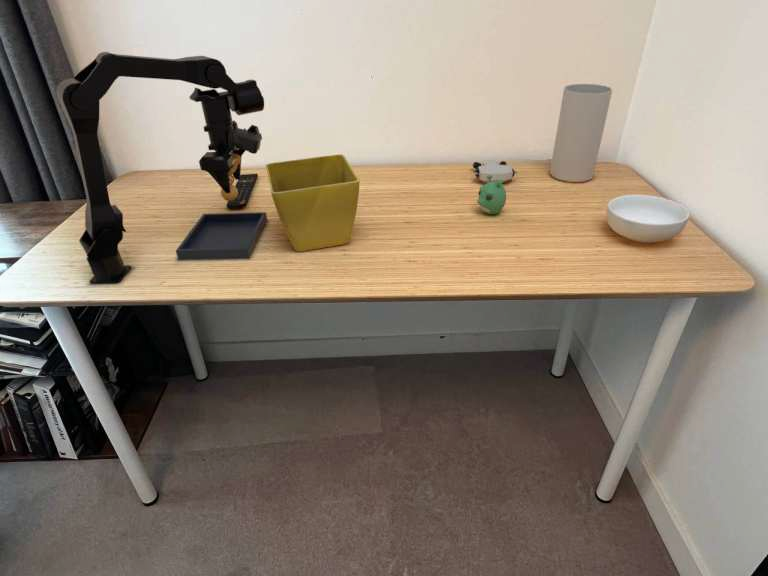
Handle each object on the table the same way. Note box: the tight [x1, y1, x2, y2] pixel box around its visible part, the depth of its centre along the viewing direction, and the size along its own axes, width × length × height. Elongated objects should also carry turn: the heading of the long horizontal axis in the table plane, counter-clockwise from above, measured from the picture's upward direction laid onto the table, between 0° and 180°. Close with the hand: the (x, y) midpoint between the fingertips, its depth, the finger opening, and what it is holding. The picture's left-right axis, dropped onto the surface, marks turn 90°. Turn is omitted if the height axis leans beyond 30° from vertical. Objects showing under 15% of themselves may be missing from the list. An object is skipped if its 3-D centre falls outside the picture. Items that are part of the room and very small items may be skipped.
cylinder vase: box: [549, 83, 613, 183], centre depth 139 cm, size 12×12×25 cm
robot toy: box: [470, 158, 519, 184], centre depth 145 cm, size 12×4×15 cm
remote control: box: [225, 173, 259, 211], centre depth 142 cm, size 5×24×1 cm, turn 4°
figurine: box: [220, 153, 242, 202], centre depth 113 cm, size 8×6×12 cm
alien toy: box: [476, 175, 507, 215], centre depth 123 cm, size 7×8×10 cm
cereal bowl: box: [606, 194, 690, 244], centre depth 111 cm, size 17×17×7 cm
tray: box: [175, 211, 268, 261], centre depth 118 cm, size 20×17×2 cm
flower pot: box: [265, 153, 360, 253], centre depth 113 cm, size 19×19×17 cm
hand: (233, 185), depth 114 cm, fingers closed on figurine, 8 cm apart
